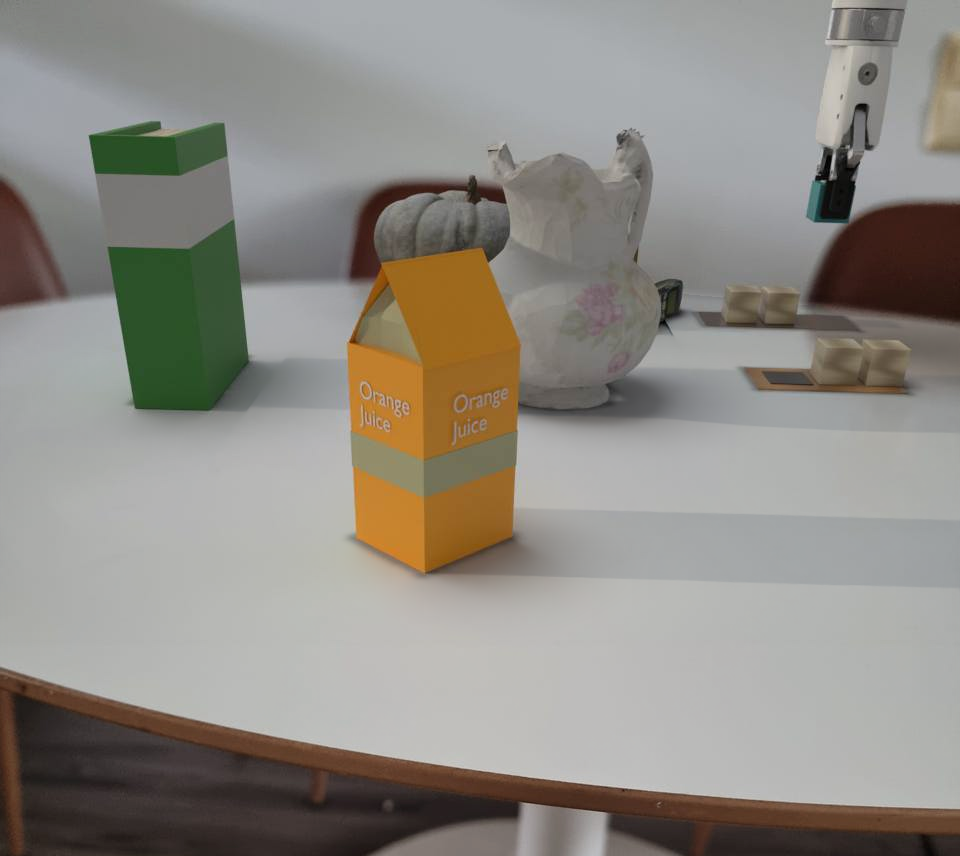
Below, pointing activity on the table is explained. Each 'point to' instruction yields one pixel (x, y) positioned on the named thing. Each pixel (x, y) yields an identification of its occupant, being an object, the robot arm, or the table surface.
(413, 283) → the orange juice
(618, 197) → the ceramic pitcher
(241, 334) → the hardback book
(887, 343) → the right board
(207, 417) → the table surface
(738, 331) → the table surface
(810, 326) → the left board
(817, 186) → the teal block
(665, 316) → the mobile phone
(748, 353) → the table surface
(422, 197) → the gourd
